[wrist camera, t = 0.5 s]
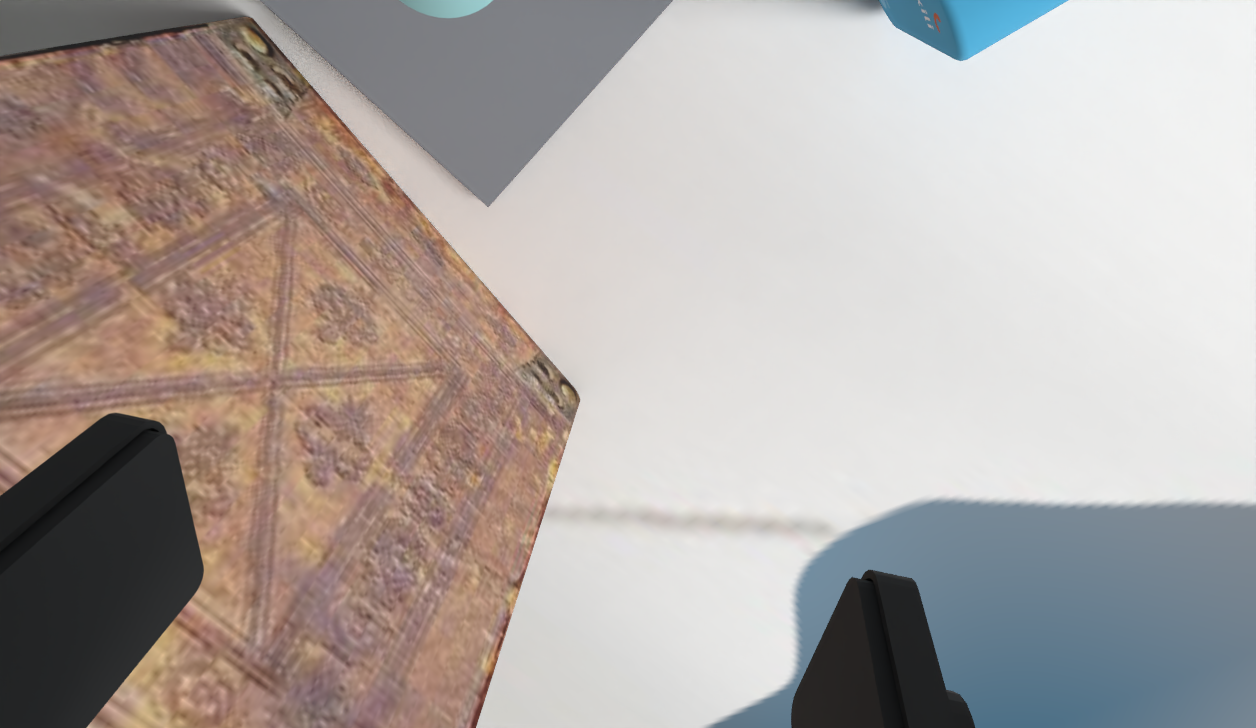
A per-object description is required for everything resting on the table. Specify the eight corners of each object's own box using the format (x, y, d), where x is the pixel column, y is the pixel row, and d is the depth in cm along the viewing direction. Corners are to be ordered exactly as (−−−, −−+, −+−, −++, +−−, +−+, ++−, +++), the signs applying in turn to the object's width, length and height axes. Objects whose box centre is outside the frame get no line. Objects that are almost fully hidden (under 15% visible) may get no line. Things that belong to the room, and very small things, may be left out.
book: (584, 399, 42) (364, 1108, 17) (472, 463, 46) (149, 1129, 20) (249, 12, 33) (-1312, 259, 8) (143, 129, 37) (-1169, 562, 11)
